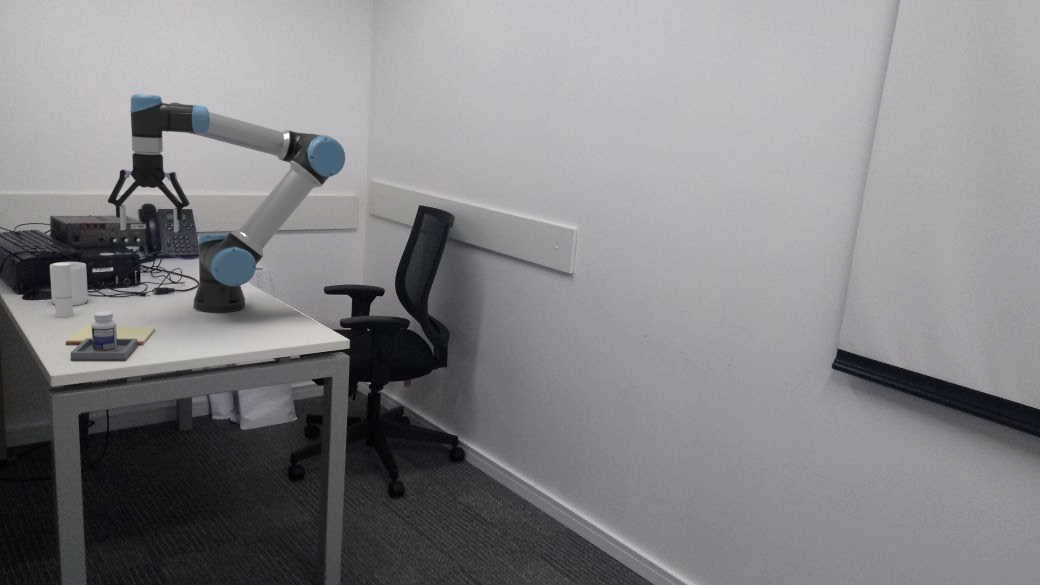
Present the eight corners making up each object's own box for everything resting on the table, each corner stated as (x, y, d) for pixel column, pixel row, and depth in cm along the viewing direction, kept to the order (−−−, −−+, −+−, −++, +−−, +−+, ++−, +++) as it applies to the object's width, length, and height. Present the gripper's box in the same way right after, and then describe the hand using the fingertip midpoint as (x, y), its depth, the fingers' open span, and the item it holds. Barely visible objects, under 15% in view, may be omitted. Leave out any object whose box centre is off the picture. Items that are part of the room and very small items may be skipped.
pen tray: (137, 346, 200) (137, 338, 200) (125, 360, 189) (124, 353, 188) (86, 345, 198) (86, 338, 197) (70, 360, 186) (70, 352, 186)
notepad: (155, 330, 214) (154, 327, 214) (142, 345, 201) (142, 342, 201) (83, 329, 210) (83, 326, 210) (65, 344, 197) (65, 341, 197)
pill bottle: (98, 347, 196) (96, 310, 193) (120, 348, 196) (119, 311, 194) (88, 353, 190) (86, 315, 188) (111, 354, 191) (110, 316, 189)
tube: (65, 318, 219) (62, 266, 216) (52, 316, 220) (49, 264, 216) (76, 314, 223) (73, 263, 220) (63, 312, 224) (60, 262, 221)
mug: (46, 306, 229) (44, 267, 227) (62, 296, 241) (60, 259, 238) (81, 307, 231) (79, 268, 229) (95, 297, 243) (93, 260, 240)
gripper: (199, 154, 216) (200, 230, 221) (101, 149, 211) (104, 226, 215) (194, 156, 209) (195, 234, 214) (92, 150, 203) (96, 230, 208)
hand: (150, 230), depth 215 cm, fingers open, 13 cm apart
